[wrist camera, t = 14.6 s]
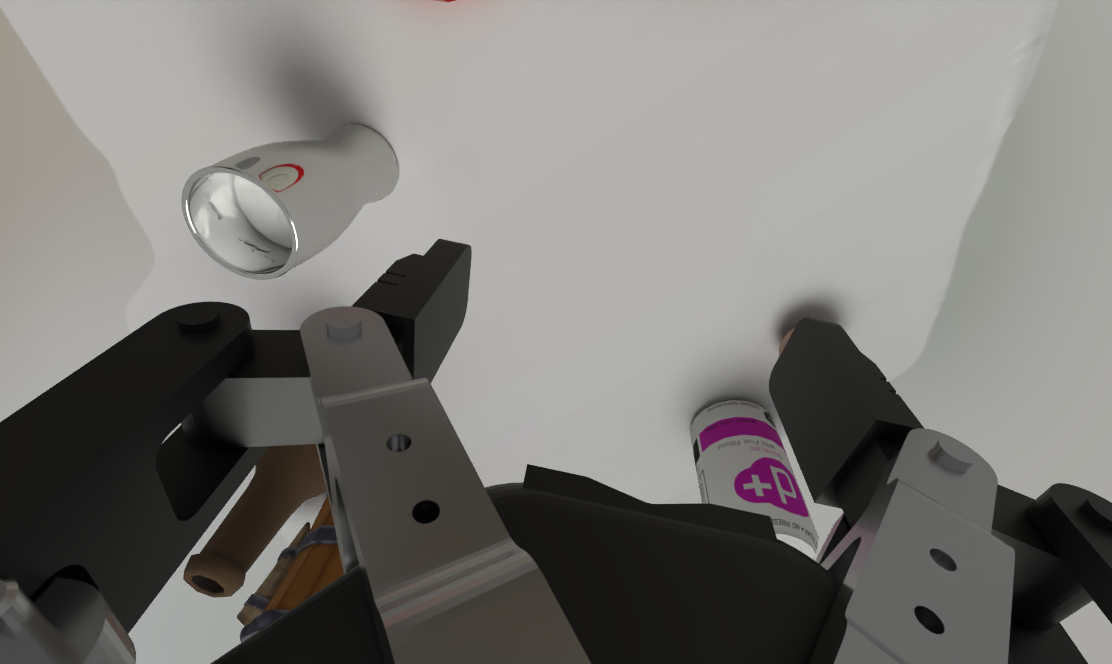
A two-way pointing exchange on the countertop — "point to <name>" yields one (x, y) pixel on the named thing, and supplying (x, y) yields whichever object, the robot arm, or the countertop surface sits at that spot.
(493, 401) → the countertop surface
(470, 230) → the countertop surface
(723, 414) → the supplement can
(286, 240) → the beer glass
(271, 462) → the beer bottle
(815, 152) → the countertop surface
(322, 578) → the mug
